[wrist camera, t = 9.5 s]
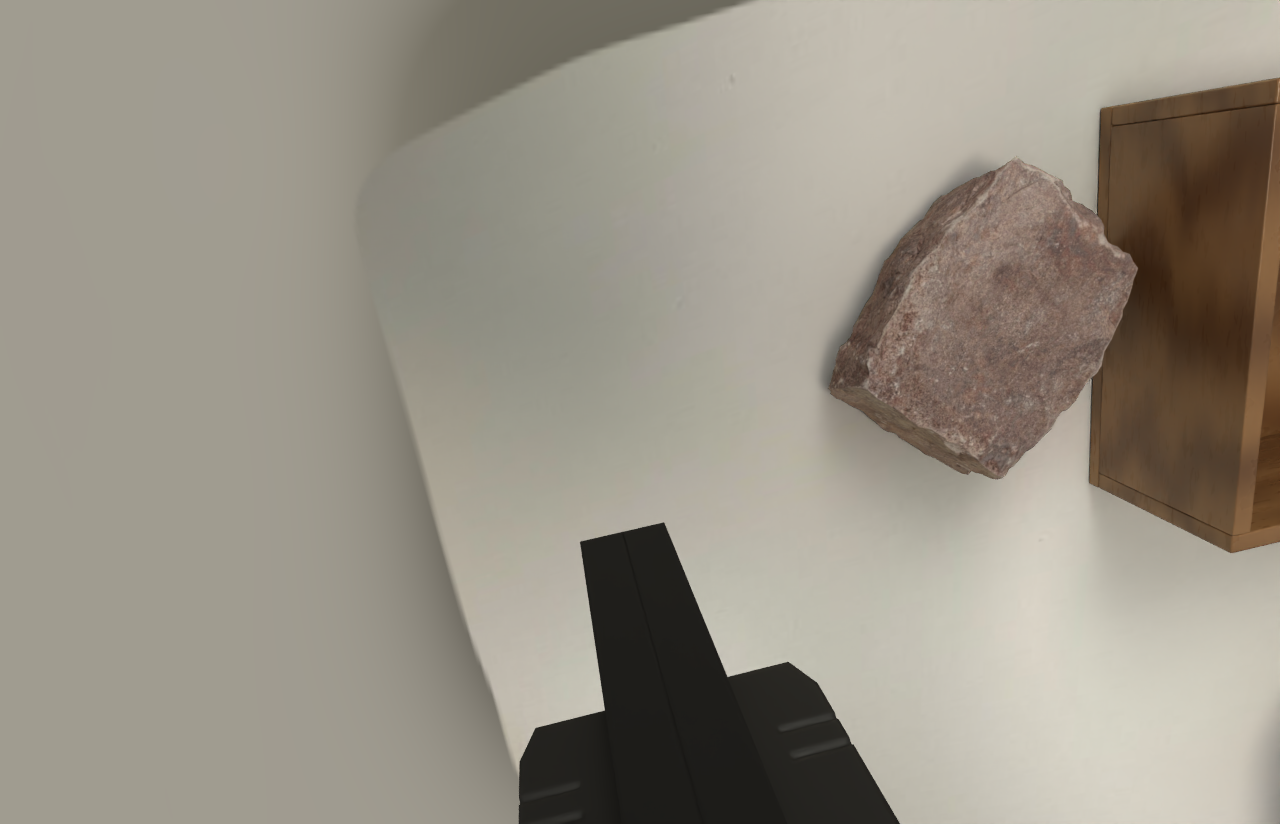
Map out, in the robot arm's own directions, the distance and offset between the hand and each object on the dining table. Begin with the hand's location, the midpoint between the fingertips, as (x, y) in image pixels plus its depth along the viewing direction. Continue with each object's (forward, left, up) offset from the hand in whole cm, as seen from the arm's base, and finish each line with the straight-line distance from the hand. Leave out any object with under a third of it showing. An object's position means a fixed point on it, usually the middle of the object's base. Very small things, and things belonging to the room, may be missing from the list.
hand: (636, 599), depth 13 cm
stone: (+1, +17, -19) cm, 25 cm away
